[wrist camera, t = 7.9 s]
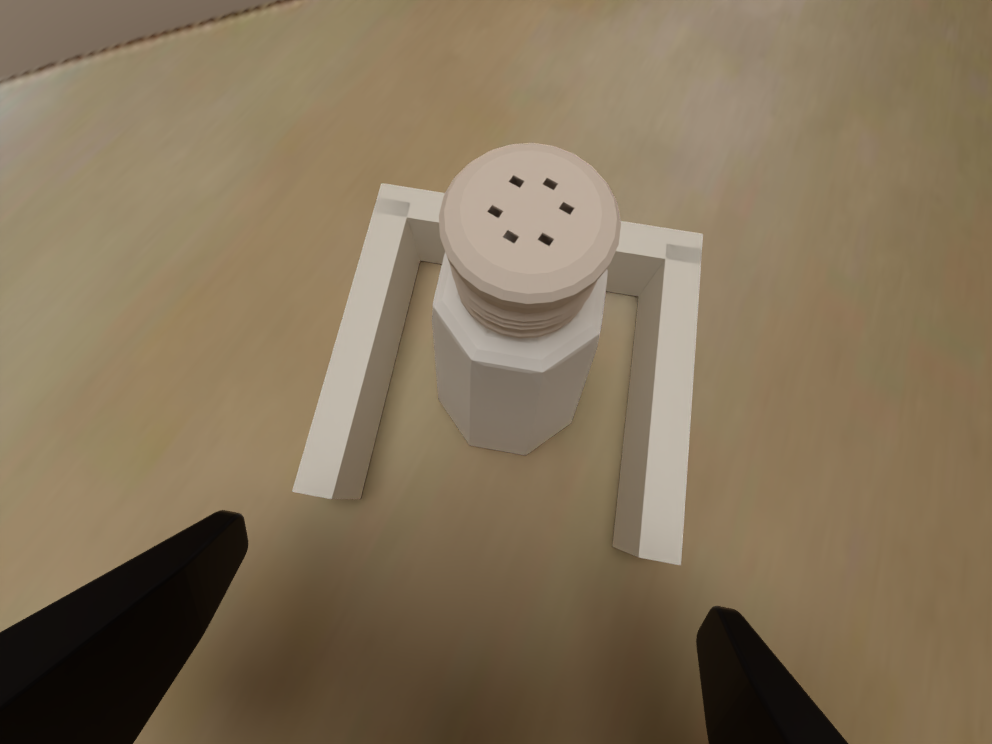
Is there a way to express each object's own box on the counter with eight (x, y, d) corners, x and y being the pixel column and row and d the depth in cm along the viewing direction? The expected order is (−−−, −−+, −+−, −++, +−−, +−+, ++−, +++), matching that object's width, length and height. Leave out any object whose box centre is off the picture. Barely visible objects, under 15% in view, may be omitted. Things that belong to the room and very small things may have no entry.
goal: (646, 553, 16) (680, 565, 13) (327, 492, 16) (292, 491, 13) (670, 274, 19) (702, 233, 16) (398, 230, 19) (381, 182, 16)
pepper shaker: (532, 486, 16) (600, 466, 6) (409, 406, 17) (271, 258, 7) (606, 365, 18) (773, 163, 7) (488, 295, 18) (478, 18, 8)
